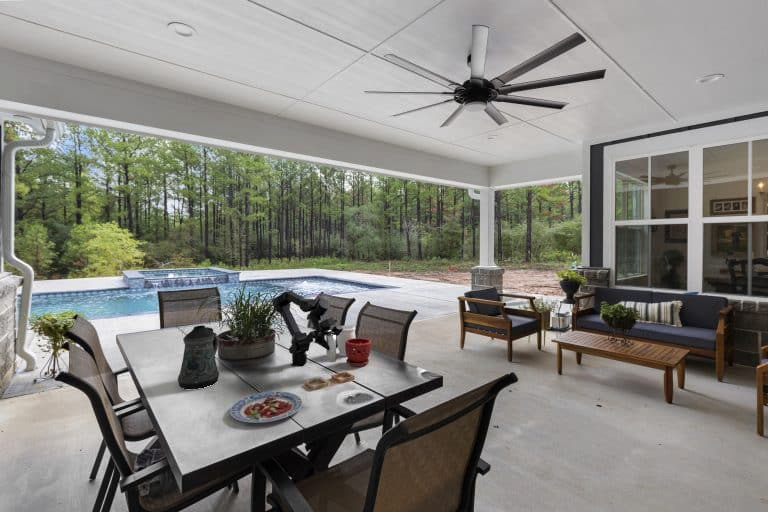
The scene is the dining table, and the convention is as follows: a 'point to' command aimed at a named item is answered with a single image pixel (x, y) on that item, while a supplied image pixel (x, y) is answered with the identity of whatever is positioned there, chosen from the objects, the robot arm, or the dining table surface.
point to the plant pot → (357, 351)
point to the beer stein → (199, 359)
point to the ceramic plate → (266, 407)
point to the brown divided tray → (328, 381)
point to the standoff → (331, 347)
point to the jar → (345, 338)
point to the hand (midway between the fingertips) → (333, 348)
